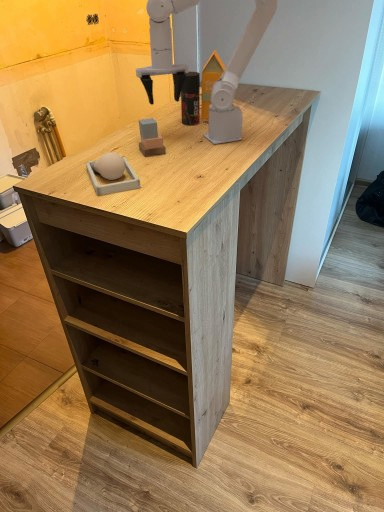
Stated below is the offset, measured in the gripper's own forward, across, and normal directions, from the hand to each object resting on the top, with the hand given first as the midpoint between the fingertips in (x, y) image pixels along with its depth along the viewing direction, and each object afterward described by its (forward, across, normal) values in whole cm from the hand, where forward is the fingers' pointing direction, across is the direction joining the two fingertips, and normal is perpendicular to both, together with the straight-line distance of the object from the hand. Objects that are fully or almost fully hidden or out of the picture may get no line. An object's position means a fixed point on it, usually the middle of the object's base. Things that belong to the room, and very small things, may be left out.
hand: (164, 102), depth 107 cm
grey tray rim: (+10, +21, +21) cm, 31 cm away
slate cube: (+6, +8, +9) cm, 13 cm away
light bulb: (+11, +22, +19) cm, 31 cm away
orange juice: (+11, -22, -14) cm, 28 cm away
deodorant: (+11, -12, -10) cm, 19 cm away
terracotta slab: (+8, +7, +9) cm, 14 cm away
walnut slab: (+11, +7, +9) cm, 16 cm away
